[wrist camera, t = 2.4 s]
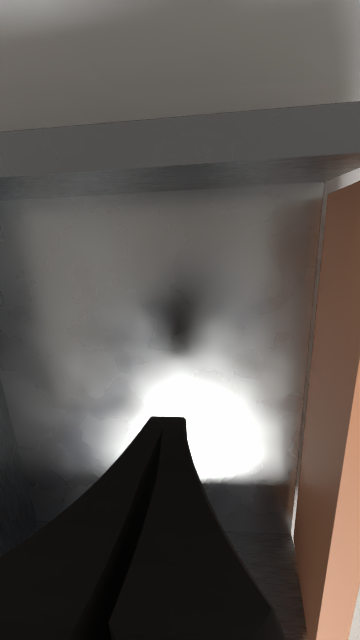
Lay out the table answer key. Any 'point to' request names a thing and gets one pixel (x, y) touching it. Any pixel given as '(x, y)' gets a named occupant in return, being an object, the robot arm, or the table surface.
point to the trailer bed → (165, 311)
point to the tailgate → (333, 433)
